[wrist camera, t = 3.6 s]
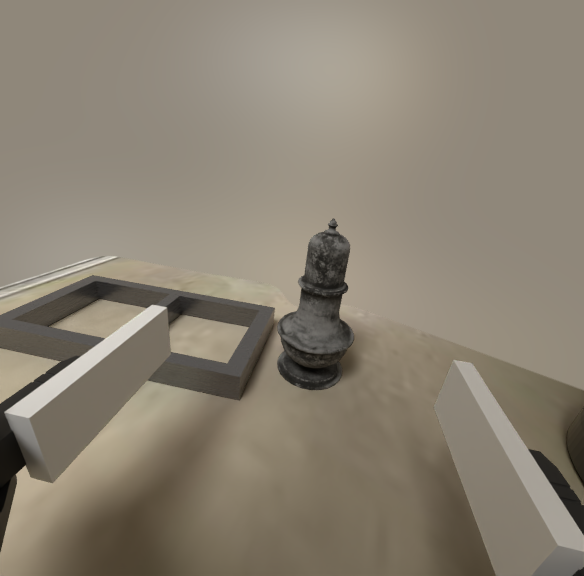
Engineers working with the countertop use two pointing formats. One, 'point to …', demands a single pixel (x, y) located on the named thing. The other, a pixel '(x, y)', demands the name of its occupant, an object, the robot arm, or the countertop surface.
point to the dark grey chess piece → (318, 316)
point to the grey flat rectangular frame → (177, 367)
